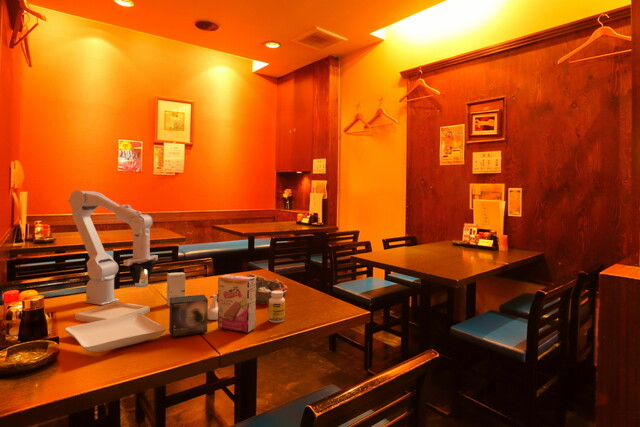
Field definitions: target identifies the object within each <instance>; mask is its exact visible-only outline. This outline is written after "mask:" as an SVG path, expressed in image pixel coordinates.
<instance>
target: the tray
mask: <svg viewBox="0 0 640 427" xmlns="http://www.w3.org/2000/svg"><path fill="white" fill-rule="evenodd" d="M150 308H151V305H150V306H149V305H143V304H142V305H141V304H134V303H128V302H121V301H114V302H111V303H107V304H104V305H99V306H97V307H94V308H89V309H85V310H83V311H79V312H76V313H74V320H76V321H80V322H81V321H82V322H87V323H91V322H96V321H101V320H106V319H112V318H117V317H123V316H129V315H134V314H141V315H143V316H144V315H145V314H148V313H150V312H151V309H150Z"/></svg>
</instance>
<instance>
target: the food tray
mask: <svg viewBox="0 0 640 427" xmlns="http://www.w3.org/2000/svg"><path fill="white" fill-rule="evenodd" d="M244 277H254V278H256V303H257V304H258V305H269V299H270V298H272V296H271V292H272V291H283V295H284V296H285V294H286V293H287V291H288V290H289V287H288V286H287V285H285V284H284V283H283V281H280V279H277V278H275V279H274V280H271V279H266V278H265V277H264V276H260V275H257V274H254V273H251V272H249V273H247V275H244ZM213 295H214V294H210V296H209V298H212V299H213ZM216 295H217V296H216V300H217V302H218V293H217V294H216ZM257 304H256V305H257Z"/></svg>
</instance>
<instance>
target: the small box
mask: <svg viewBox="0 0 640 427" xmlns="http://www.w3.org/2000/svg"><path fill="white" fill-rule="evenodd" d="M208 301H209V299H208V297H207V296H206V295H205V294H195V295H185V296H182V297H171V298H170V307H169V319H168V320H169V322H168V323H169V324H168V325H169V326H168V331H169V334H170V337H171V338H176V337H183V336H188V335H189V336H190V335H198V334H204V333H208V307H209V304H208V303H209V302H208Z"/></svg>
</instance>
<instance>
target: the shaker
mask: <svg viewBox="0 0 640 427" xmlns="http://www.w3.org/2000/svg"><path fill="white" fill-rule="evenodd" d="M134 287H135V288H146V287H149V281H148V270H147V268H142V267H141V271H140V280H139V283H134Z"/></svg>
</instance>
